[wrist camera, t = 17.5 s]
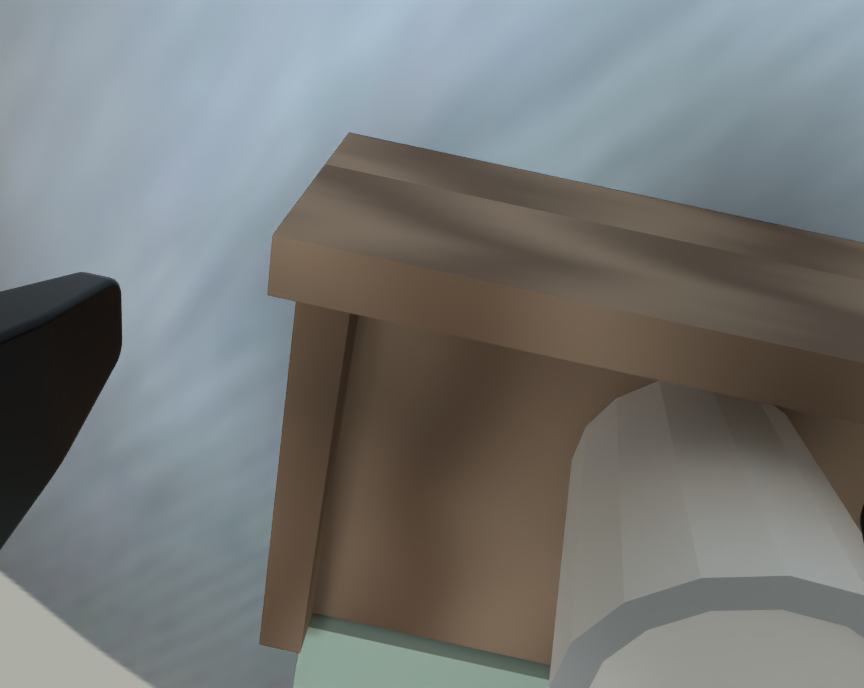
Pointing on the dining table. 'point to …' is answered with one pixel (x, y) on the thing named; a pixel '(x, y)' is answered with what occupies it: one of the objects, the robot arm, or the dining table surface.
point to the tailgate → (402, 661)
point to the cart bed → (514, 375)
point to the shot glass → (705, 552)
